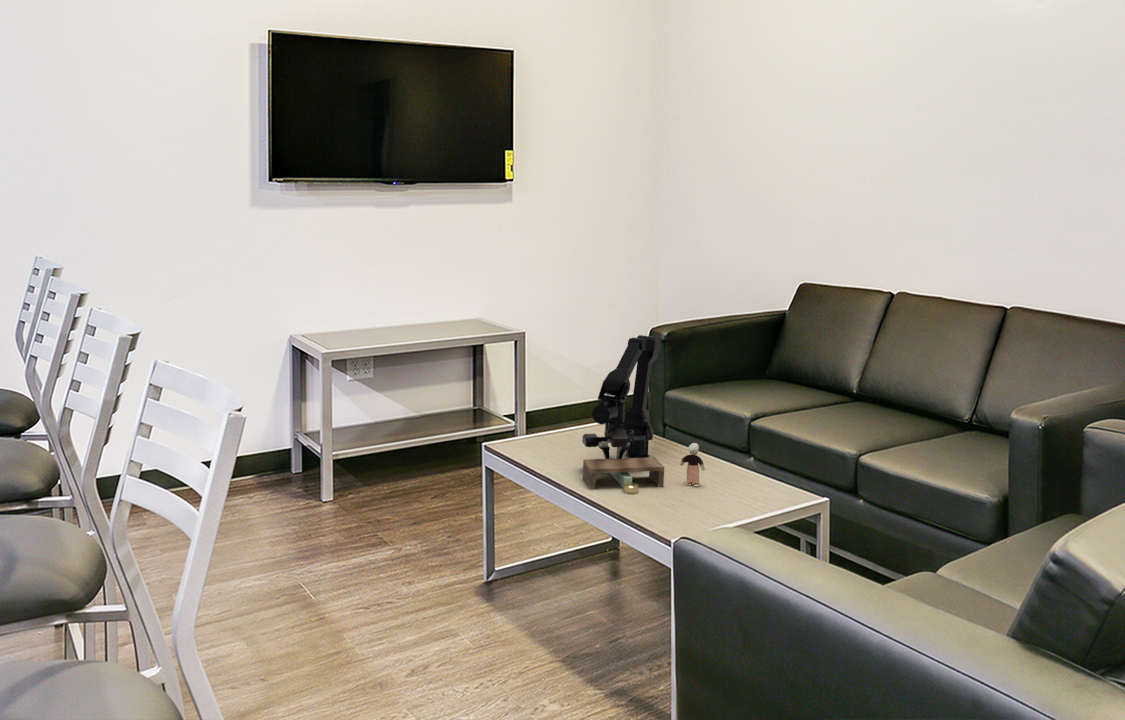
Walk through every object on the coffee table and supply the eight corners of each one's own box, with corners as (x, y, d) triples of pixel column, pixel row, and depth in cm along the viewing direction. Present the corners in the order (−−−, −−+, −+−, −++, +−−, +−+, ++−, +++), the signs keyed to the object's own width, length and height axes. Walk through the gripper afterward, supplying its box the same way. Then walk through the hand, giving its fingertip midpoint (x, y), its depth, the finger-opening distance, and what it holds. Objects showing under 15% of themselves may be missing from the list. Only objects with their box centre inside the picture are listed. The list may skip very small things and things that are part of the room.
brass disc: (636, 489, 274) (636, 482, 274) (639, 494, 270) (640, 487, 270) (620, 489, 274) (621, 483, 273) (624, 494, 269) (624, 487, 269)
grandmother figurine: (705, 484, 281) (708, 443, 278) (703, 488, 277) (705, 446, 275) (680, 481, 283) (682, 440, 281) (677, 484, 279) (679, 443, 277)
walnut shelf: (653, 476, 287) (654, 457, 286) (663, 486, 277) (664, 467, 276) (582, 478, 283) (583, 459, 282) (590, 489, 273) (590, 469, 272)
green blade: (613, 467, 295) (614, 456, 295) (631, 489, 274) (632, 477, 274) (606, 467, 295) (606, 456, 294) (623, 489, 274) (624, 477, 273)
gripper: (590, 424, 279) (588, 475, 282) (651, 423, 283) (649, 473, 285) (582, 415, 290) (581, 464, 293) (641, 414, 293) (639, 463, 296)
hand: (612, 466), depth 291 cm, fingers closed on green blade, 2 cm apart
